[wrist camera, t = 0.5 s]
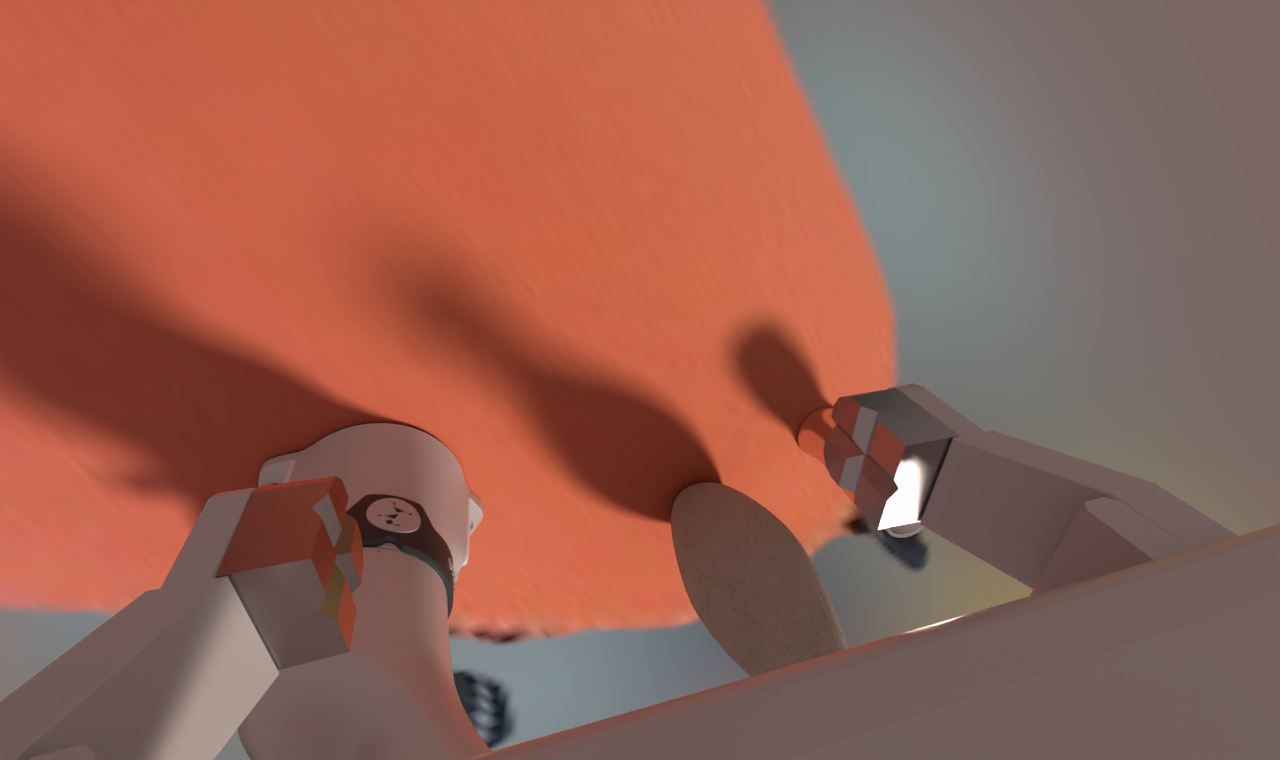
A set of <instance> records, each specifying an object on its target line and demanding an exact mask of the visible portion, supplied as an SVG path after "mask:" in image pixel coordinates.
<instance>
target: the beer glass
mask: <svg viewBox="0 0 1280 760" xmlns="http://www.w3.org/2000/svg"><path fill="white" fill-rule="evenodd" d="M832 410H833V408H829V407H826V408H821V409H818V410H816V411H814V412H813V413H811V414H810V415H809V416H808V417H807V418H806V419H805V420H804V421H803V423H802V424H801V426H800V429H799V431H798V444H799V446H800V448H801V449H802V450H803V451H804V452H806V453H807V454H809V455H811V456H813V457H814V458H816V459H818V460H819V461H820V462H821V463H822V464H823V465H824V466H825V467H826V464H825V459H824V453H823V450H824V445H825V440H826V436H827V435H828V434H829V433H830V432H831V430H832V429H833V428H834V427H835V426H836V424H835V423H834V421H833V419H832V417H831V414H832ZM841 489H842V490H843V491H844V493H845V494H846V495H847V496H848V497H849V499H850V500H851V501H852V502H853V503H854V493H852V492H850V491H848V490H846V489H844V488H842V487H841ZM920 522H921V521H920ZM920 522H915V523H910V524H905V525H900V526H895V527H890V528H885V530H886V531H887V532H888V533H889V534H890V535H892V536H894V537H899V538H903V537H909V536H912V535H914V534H916V533H918V532H920V531H921V530H923V529H924V528H925V527H924V526H922V525H921V524H920Z"/></svg>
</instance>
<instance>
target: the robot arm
mask: <svg viewBox="0 0 1280 760" xmlns="http://www.w3.org/2000/svg"><path fill="white" fill-rule="evenodd" d="M831 417H832V419H833V421H834V423H835V424H836V426H835V427H834V428H833V429H832V430H831V432H830V433H829V434H828V435H827V436H826V440H825V445H824V450H823V453H824V459H825V464H826V468H827V470H828V472H829V474H830V476H831V477H832V478H833V480H834V481H835V482H836V483H837V484H838V486H840V487H842V488H844V489H846V490H848V491H850V492H852V493H854V504H855V505H856V506H857V507H858V508H859V510H860V511H861V512H862V513H863V514H864V515H865V516H866V518H867V519H868V520H869V521H870V522H871V523H872V524H873V525H874V527H875V528H876V529H877V530H880V529H885V528H890V527H895V526H900V525H905V524H910V523H915V522H920V521H921V522H920V524H921V525H922V526H924V527H926V528H928V529H929V530H931V531H933V532H935V533H936V534H938V535H940V536H942V537H943V538H945V539H947V540H949V541H951V542H952V543H954V544H956V545H957V546H959V547H961V548H963V549H964V550H966V551H968V552H970V553H971V554H973V555H975V556H976V557H978V558H980V559H982V560H984V561H985V562H987V563H989V564H990V565H993V566H994V567H996V568H997V569H999V570H1001V571H1003V572H1004V573H1006V574H1008V575H1010V576H1011V577H1013V578H1015V579H1017V580H1018V581H1020V582H1022V583H1024V584H1025V585H1027V586H1029V587H1030V588H1032V589H1033V591H1032V593H1031V595H1030V596H1029V597H1026V598H1022V599H1018V600H1015V601H1012V602H1008V603H1005V604H1001V605H998V606H994V607H991V608H987V609H984V610H980V611H977V612H973V613H970V614H967V615H963V616H960V617H956V618H953V619H949V620H946V621H942V622H939V623H935V624H932V625H928V626H925V627H922V628H918V629H915V630H911V631H908V632H904V633H901V634H897V635H894V636H890V637H887V638H884V639H880V640H877V641H873V642H870V643H867V644H863V645H859V646H856V647H852V648H849V649H846V650H842V651H839V652H835V653H832V654H828V655H825V656H821V657H818V658H814V659H811V660H808V661H804V662H801V663H797V664H794V665H790V666H787V667H783V668H780V669H776V670H773V671H770V672H766V673H763V674H759V675H756V676H752V677H749V678H745V679H742V680H739V681H735V682H732V683H728V684H725V685H721V686H718V687H715V688H711V689H707V690H704V691H700V692H697V693H693V694H690V695H686V696H683V697H680V698H676V699H673V700H669V701H666V702H662V703H659V704H655V705H652V706H649V707H645V708H641V709H638V710H634V711H631V712H627V713H624V714H620V715H617V716H614V717H610V718H607V719H603V720H600V721H596V722H593V723H589V724H586V725H583V726H579V727H575V728H572V729H568V730H565V731H561V732H558V733H554V734H551V735H548V736H545V737H541V738H537V739H534V740H530V741H527V742H524V743H520V744H516V745H513V746H509V747H506V748H502V749H499V750H495V751H491V750H490V749H489V748H488V746H487V745H486V743H485V742H484V741H483V739H482V738H481V736H480V735H479V734H478V732H477V731H476V729H475V728H474V726H473V724H472V723H471V721H470V719H469V718H468V716H467V714H466V712H465V710H464V708H463V706H462V704H461V701H460V699H459V696H458V693H457V691H456V687H455V683H454V678H453V671H452V664H451V655H450V645H449V632H448V618H449V616H450V613H451V610H452V605H453V598H454V593H455V582H456V580H457V578H458V575H459V571H460V569H461V567H462V566H464V565H466V564H467V562H468V558H469V538H470V535H471V534H472V532H473V531H474V530H475V528H476V527H477V526H478V524H479V523H480V522H481V520H482V518H483V505H482V504H481V502H480V501H479V500H478V498H477V497H476V496H475V495H474V494H473V493H472V492H471V491H470V490H469V489H468V487H467V485H466V483H465V479H464V476H463V472H462V469H461V467H460V465H459V463H458V461H457V459H456V458H455V456H454V455H453V454H452V453H451V451H450V450H449V449H448V448H447V447H446V446H445V445H444V444H442V443H441V442H440V441H438V440H437V439H435V438H434V437H432V436H430V435H429V434H427V433H425V432H422V431H420V430H417V429H414V428H411V427H407V426H403V425H398V424H389V423H371V424H362V425H357V426H352V427H348V428H345V429H342V430H339V431H337V432H334V433H332V434H330V435H328V436H326V437H324V438H323V439H321V440H320V441H318V442H316V443H315V444H313V445H312V446H310V447H308V448H307V449H305V450H302V451H300V452H296V453H291V454H286V455H282V456H278V457H275V458H272V459H270V460H268V461H266V462H265V463H264V464H263V465H262V467H261V470H260V474H259V483H258V488H247V489H240V490H234V491H227V492H220V493H217V494H215V495H214V496H212V497H210V498H209V499H208V500H207V502H206V504H205V506H204V508H203V510H202V511H201V513H200V515H199V517H198V519H197V521H196V523H195V525H194V527H193V528H192V530H191V532H190V534H189V536H188V538H187V540H186V542H185V543H184V545H183V547H182V549H181V551H180V553H179V555H178V557H177V559H176V560H175V562H174V564H173V566H172V568H171V570H170V572H169V574H168V575H167V577H166V579H165V581H164V583H163V585H162V587H161V589H156V590H151V591H146V592H145V593H143V594H142V595H141V596H139V597H138V598H137V599H136V600H134V601H133V602H132V603H130V604H129V605H128V606H126V607H125V608H124V609H122V610H121V611H120V612H118V613H117V614H116V615H114V616H113V617H112V618H110V619H109V620H108V621H106V622H105V623H104V624H102V625H101V626H100V627H99V628H97V629H96V630H95V631H93V632H92V633H91V634H89V635H88V636H87V637H86V638H84V639H83V640H81V641H80V642H79V643H78V644H76V645H75V646H74V647H72V648H71V649H69V650H68V651H67V652H66V653H64V654H63V655H62V656H60V657H59V658H58V659H56V660H55V661H54V662H52V663H51V664H50V665H48V666H47V667H46V668H44V669H43V670H42V671H40V672H39V673H38V674H36V675H35V676H34V677H32V678H31V679H30V680H29V681H27V682H26V683H25V684H23V685H22V686H21V687H19V688H18V689H17V690H15V691H14V692H13V693H11V694H10V695H9V696H7V697H6V698H5V699H3V700H2V701H1V702H0V760H214V758H215V757H216V756H217V754H218V753H219V752H220V750H221V749H222V748H223V747H224V745H225V744H226V743H227V741H228V740H229V739H230V737H231V736H232V735H233V734H234V732H235V731H236V730H238V734H239V737H240V740H241V743H242V745H243V747H244V749H245V750H246V753H247V754H248V756H249V758H250V759H251V760H1280V524H1278V525H1274V526H1271V527H1267V528H1264V529H1260V530H1257V531H1254V532H1250V533H1247V534H1243V535H1240V536H1237V535H1236V534H1234V533H1233V532H1231V531H1229V530H1228V529H1226V528H1225V527H1223V526H1222V525H1220V524H1218V523H1217V522H1215V521H1214V520H1212V519H1210V518H1209V517H1207V516H1205V515H1204V514H1203V513H1201V512H1199V511H1198V510H1196V509H1194V508H1193V507H1191V506H1190V505H1188V504H1186V503H1185V502H1184V501H1182V500H1180V499H1179V498H1177V497H1175V496H1174V495H1172V494H1171V493H1169V492H1168V491H1166V490H1164V489H1163V488H1161V487H1160V486H1158V485H1157V484H1155V483H1152V482H1149V481H1146V480H1143V479H1140V478H1137V477H1134V476H1131V475H1128V474H1125V473H1121V472H1118V471H1115V470H1112V469H1109V468H1106V467H1103V466H1100V465H1097V464H1094V463H1090V462H1087V461H1084V460H1081V459H1078V458H1075V457H1072V456H1069V455H1066V454H1063V453H1060V452H1057V451H1054V450H1051V449H1047V448H1045V447H1041V446H1038V445H1035V444H1032V443H1029V442H1026V441H1023V440H1020V439H1017V438H1014V437H1011V436H1007V435H1004V434H1001V433H998V432H995V431H988V432H985V431H983V430H982V429H981V428H979V427H978V426H977V425H975V424H974V423H972V422H971V421H969V420H968V419H967V418H966V417H964V416H963V415H961V414H960V413H959V412H957V411H956V410H954V409H953V408H952V407H950V406H949V405H948V404H946V403H945V402H943V401H942V400H941V399H939V398H938V397H937V396H935V395H934V394H932V393H931V392H930V391H928V390H927V389H926V388H924V387H923V386H920V385H915V384H908V385H903V386H897V387H892V388H888V389H886V390H880V391H874V392H867V393H861V394H855V395H849V396H843V397H839V399H838V400H837V401H836V403H835V404H834V407H833V410H832V414H831ZM273 483H277V484H274V485H272V484H273Z"/></svg>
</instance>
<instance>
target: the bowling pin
mask: <svg viewBox="0 0 1280 760" xmlns="http://www.w3.org/2000/svg"><path fill="white" fill-rule="evenodd" d="M671 529H672V538H673V544H674V549H675V554H676V559H677V563H678V566H679V570H680V573H681V577H682V580H683V583H684V586H685V589H686V592H687V594H688V596H689V599H690V601H691V603H692V605H693V607H694V609H695V611H696V612H697V614H698V616H699V618H700V619H701V621H702V622H703V623H704V625H705V626H706V627H707V629H708V630H709V632H710V633H711V635H712V636H713V637H714V638H715V640H716V641H717V642H718V643H719V644H720V646H721V647H722V648H723V649H724V650H725V652H726V653H727V654H728V655H729V656H730V657H731V658H732V659H733V660H734V661H735V662H736V663H737V664H738V665H739V666H740V667H741V668H742V669H743V670H744V671H745V672H746V673H747V674H748V675H749V676H750V677H752V676H756V675H759V674H763V673H766V672H770V671H773V670H776V669H780V668H783V667H787V666H790V665H794V664H797V663H801V662H804V661H808V660H811V659H814V658H818V657H821V656H825V655H828V654H832V653H835V652H839V651H842V650H846V649H848V648H847V645H846V641H845V638H844V635H843V632H842V629H841V627H840V624H839V621H838V618H837V616H836V613H835V611H834V608H833V605H832V603H831V600H830V598H829V596H828V594H827V592H826V589H825V587H824V585H823V583H822V581H821V579H820V577H819V575H818V573H817V571H816V569H815V567H814V565H813V563H812V561H811V560H810V558H809V556H808V555H807V553H806V551H805V550H804V548H803V547H802V545H801V543H800V542H799V541H798V540H797V538H796V537H795V536H794V535H793V533H792V532H791V531H790V530H789V529H788V528H787V527H786V526H785V525H784V524H783V523H782V522H781V521H780V520H779V519H778V518H777V517H776V516H774V515H773V514H772V513H771V512H770V511H768V510H767V509H766V508H765V507H763V506H762V505H760V504H759V503H757V502H756V501H754V500H753V499H751V498H750V497H748V496H746V495H745V494H743V493H741V492H739V491H737V490H735V489H733V488H731V487H728V486H726V485H723V484H720V483H714V482H703V483H697V484H694V485H691V486H689V487H687V488H685V489H683V490H682V491H681V492H680V493H679V494H678V496H677V497H676V499H675V501H674V504H673V507H672V511H671Z"/></svg>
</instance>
